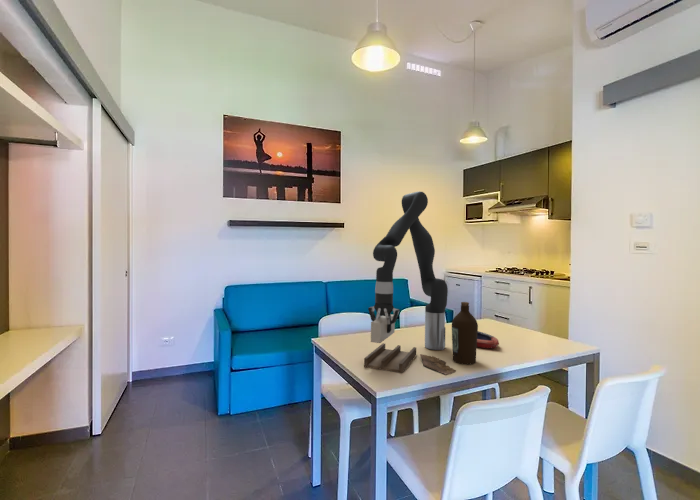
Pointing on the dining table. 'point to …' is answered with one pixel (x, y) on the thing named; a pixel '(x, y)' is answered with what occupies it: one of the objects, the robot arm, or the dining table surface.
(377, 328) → the gray rectangular block
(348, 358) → the dining table surface
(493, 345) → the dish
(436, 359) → the wooden fragment
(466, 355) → the olive oil
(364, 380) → the dining table surface
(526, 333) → the dining table surface
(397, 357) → the rack
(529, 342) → the dining table surface
